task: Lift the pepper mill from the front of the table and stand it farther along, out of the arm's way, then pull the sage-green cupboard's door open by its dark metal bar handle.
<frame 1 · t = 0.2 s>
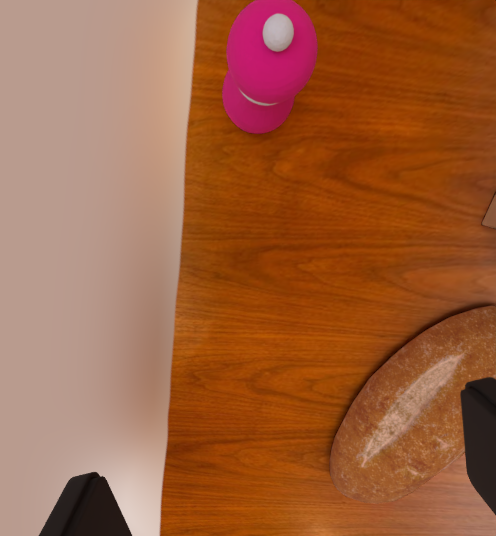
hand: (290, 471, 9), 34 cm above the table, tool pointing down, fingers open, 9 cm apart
pepper mill: (255, 104, 38), on the table
bread: (411, 399, 49), on the table
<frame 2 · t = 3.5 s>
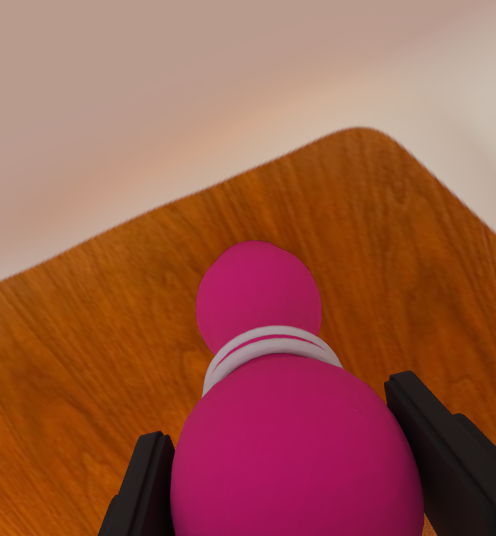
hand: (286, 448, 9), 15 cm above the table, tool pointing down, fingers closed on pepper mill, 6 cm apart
pepper mill: (253, 282, 24), on the table, touching gripper
when the fingers open (15 cm above the table, at t = 10.0 s): pepper mill stays where it is, on the table.
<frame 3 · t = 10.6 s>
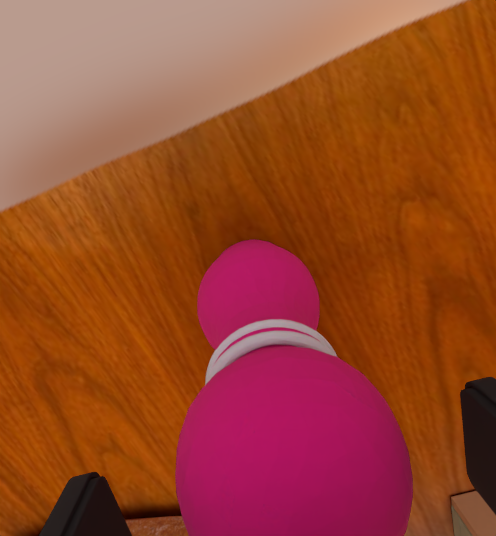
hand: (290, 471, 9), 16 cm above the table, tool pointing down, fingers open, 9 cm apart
pepper mill: (253, 280, 24), on the table
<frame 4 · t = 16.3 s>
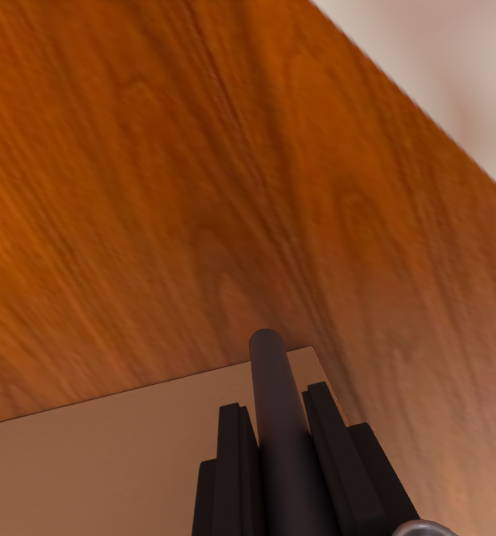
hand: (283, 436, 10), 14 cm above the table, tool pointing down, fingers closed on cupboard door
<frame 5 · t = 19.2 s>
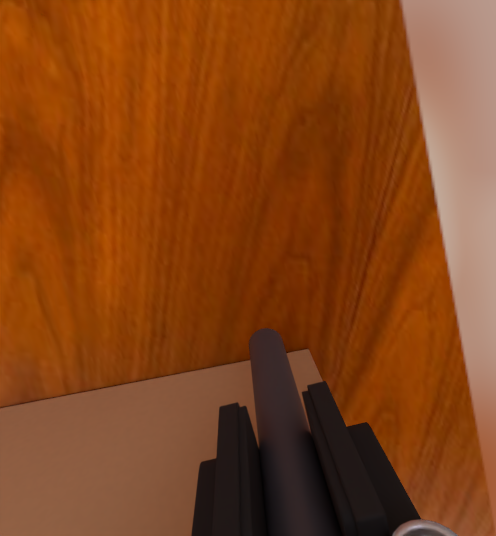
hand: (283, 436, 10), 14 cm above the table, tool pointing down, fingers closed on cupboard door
cupboard door: (10, 526, 12), point 12 cm above the table, hinge at 30.2°, touching gripper
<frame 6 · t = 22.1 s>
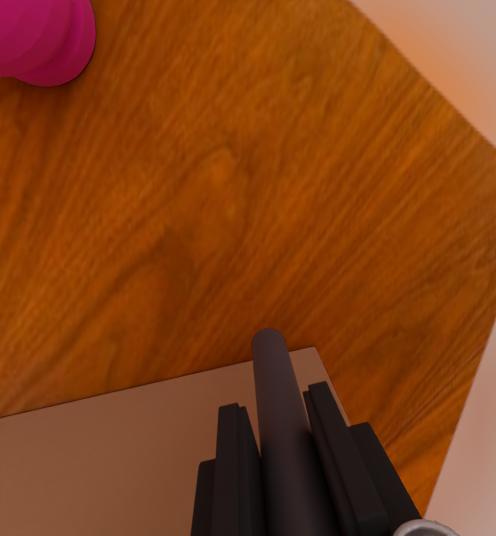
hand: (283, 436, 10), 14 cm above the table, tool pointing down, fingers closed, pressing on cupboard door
pepper mill: (41, 26, 18), on the table
cupboard door: (21, 533, 12), point 12 cm above the table, hinge at 59.5°, touching gripper
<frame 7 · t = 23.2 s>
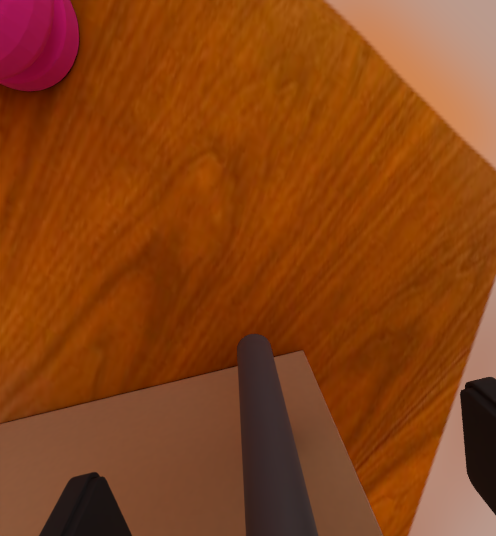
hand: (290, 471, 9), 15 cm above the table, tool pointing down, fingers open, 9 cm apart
pepper mill: (23, 30, 18), on the table
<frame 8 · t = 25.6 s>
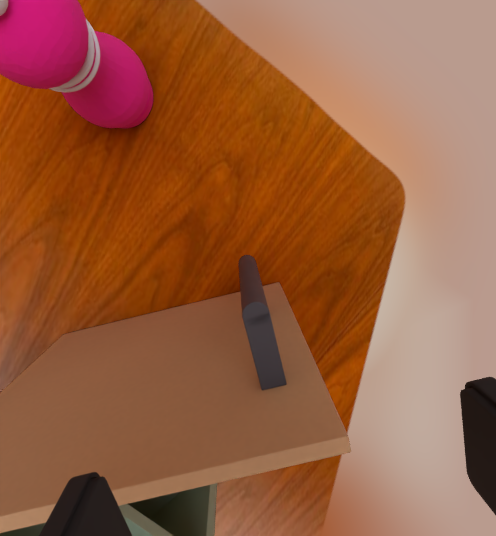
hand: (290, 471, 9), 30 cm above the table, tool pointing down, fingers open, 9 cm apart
pepper mill: (122, 95, 33), on the table
cupboard: (99, 448, 44), on the table
cupboard door: (135, 337, 27), point 12 cm above the table, hinge at 59.5°
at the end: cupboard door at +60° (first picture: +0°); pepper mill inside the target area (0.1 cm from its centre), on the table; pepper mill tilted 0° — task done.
